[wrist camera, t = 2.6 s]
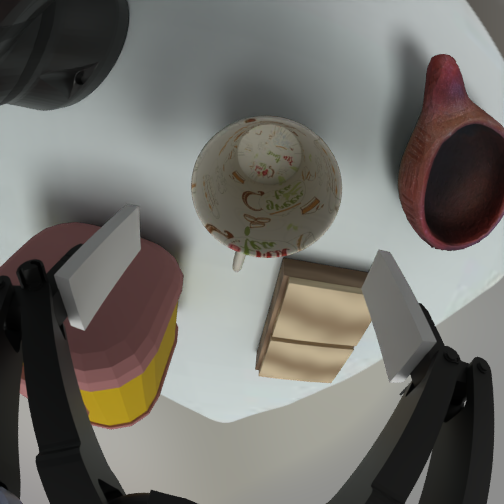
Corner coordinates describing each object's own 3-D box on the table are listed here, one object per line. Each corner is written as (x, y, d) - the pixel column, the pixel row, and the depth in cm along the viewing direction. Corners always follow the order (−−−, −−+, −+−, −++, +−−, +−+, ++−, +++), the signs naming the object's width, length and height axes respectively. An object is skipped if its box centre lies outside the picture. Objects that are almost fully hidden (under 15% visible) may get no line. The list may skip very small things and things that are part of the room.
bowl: (497, 163, 20) (543, 191, 14) (433, 245, 27) (466, 290, 20) (404, 51, 17) (453, 42, 10) (327, 154, 23) (349, 182, 16)
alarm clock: (67, 277, 33) (-6, 382, 17) (57, 208, 28) (-52, 312, 11) (187, 316, 35) (143, 459, 18) (198, 244, 29) (127, 421, 12)
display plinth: (283, 257, 29) (283, 281, 25) (378, 274, 29) (388, 297, 26) (256, 352, 37) (254, 375, 34) (331, 360, 38) (334, 383, 34)
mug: (329, 124, 21) (364, 145, 13) (287, 245, 28) (291, 318, 20) (233, 97, 21) (206, 100, 12) (206, 225, 28) (176, 290, 19)
